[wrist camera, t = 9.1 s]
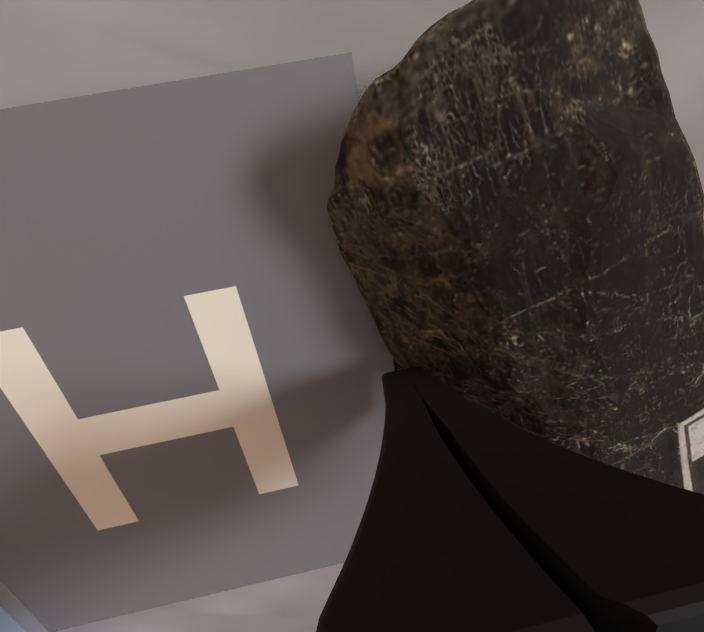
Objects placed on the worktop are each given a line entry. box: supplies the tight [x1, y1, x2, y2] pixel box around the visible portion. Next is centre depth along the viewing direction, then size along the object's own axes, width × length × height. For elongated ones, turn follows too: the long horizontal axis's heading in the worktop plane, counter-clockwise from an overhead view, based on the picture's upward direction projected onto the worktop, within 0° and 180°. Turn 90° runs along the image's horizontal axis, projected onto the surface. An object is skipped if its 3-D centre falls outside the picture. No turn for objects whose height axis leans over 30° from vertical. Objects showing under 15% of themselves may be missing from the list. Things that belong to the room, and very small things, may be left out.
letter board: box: [0, 53, 395, 632], centre depth 11 cm, size 18×16×1 cm
